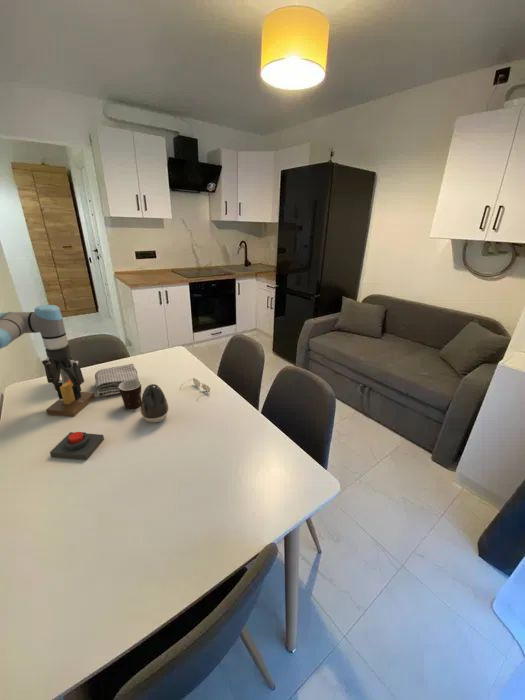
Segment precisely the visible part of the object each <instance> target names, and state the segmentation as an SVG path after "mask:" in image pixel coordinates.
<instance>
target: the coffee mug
mask: <svg viewBox="0 0 525 700" xmlns="http://www.w3.org/2000/svg"><path fill="white" fill-rule="evenodd" d="M139 380H140V379H139ZM139 380H127V381H124V382H122V383H120V384H119V386H118V387H119V390H120V393H119V394H120V396H121V400H122V402H123V405H124V408H125V409H126V410H129V411H131V410H137V409H138V408H141V401H142V385H141V384H142V382H141V380H140V381H139Z"/></svg>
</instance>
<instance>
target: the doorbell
mask: <svg viewBox="0 0 525 700" xmlns="http://www.w3.org/2000/svg"><path fill="white" fill-rule="evenodd" d="M81 432H82V434H83V437H84V438H83V440H82V441H80V442H79V443H75V444H71V443H70V441H69V436H70V435H71V434H72V433H75V432H74V431H70V432H68V434H67V435H66V436H65V437H64V438H62V440H61V441H60V442H59V443H57V445H56V446H55V447H53V449H52V450H50V452H49V454H50V457H51V458H53V459H66V460H79V461H88V460H89V459H90V457H91V456H92V455H93V454H94V453H95V451H96V450H97V449H98V448H99V446H100V445H101V444H102V443H103V442H104V441H105V437H104V434H98V433H87V432H85V431H84V432H83V431H81Z"/></svg>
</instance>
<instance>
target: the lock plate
mask: <svg viewBox="0 0 525 700" xmlns="http://www.w3.org/2000/svg"><path fill="white" fill-rule="evenodd" d="M80 393H81V398H79V399H78V400H74V401H73V402H71V403H70V404H64V401H63V398H62V399H59V398H58V399H57V400H56V401H55V402H54V403H52V404H51V405H50V406H48V407H47V408H46V409H45V413H46V415H47V416H58V417H72V418H74V417H76V416H77V415H78V414H79V413H80V412H81V411H83V409H85V407H87V406H88V405H89V404H90V403H91V402H92V401H93V400H95V398H96V396H95V392H90V391H80Z"/></svg>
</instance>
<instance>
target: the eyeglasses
mask: <svg viewBox="0 0 525 700" xmlns="http://www.w3.org/2000/svg"><path fill="white" fill-rule="evenodd" d="M191 380H192V382H193V384H194V386H196V385H197V386H196V387H198V386H199V387H198V388H200V387H201V388H202V389H203V391H205V390H206V391H207V392H206V391H205V392H204V393H203V394H201V395H200V397H202V396H203V395H205V394H206V393H208V392H209V393H208V394H210V392H211V387H210V386H209V385H207V384H205V383H202V382H201V381H200V380H199V379H197V378H195V377H193V378H191V379H189V380H188V381H186V382H184V383H183V384H181V386H180V387H179V389H181V388H182V386H183V385H185V384H186V383H188V382H190V381H191ZM198 400H199V398H197V400H196V401H198Z"/></svg>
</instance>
